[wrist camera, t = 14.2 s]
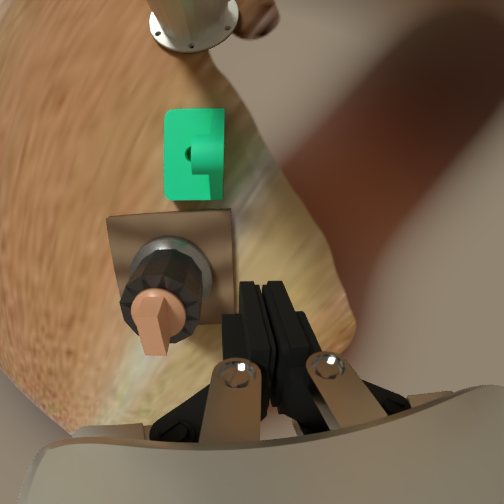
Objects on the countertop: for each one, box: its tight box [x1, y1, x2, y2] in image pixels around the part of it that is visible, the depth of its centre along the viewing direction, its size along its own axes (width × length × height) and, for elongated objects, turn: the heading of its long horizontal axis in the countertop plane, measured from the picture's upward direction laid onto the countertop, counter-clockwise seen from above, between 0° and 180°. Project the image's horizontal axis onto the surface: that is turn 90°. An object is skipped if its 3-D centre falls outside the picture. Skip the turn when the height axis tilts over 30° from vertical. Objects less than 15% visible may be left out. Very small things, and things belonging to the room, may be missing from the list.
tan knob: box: [131, 288, 186, 356], centre depth 30 cm, size 6×6×9 cm
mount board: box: [106, 209, 235, 324], centre depth 40 cm, size 18×18×2 cm
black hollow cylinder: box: [120, 235, 212, 343], centre depth 35 cm, size 12×12×10 cm
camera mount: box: [164, 108, 225, 200], centre depth 31 cm, size 12×8×10 cm, turn 178°
